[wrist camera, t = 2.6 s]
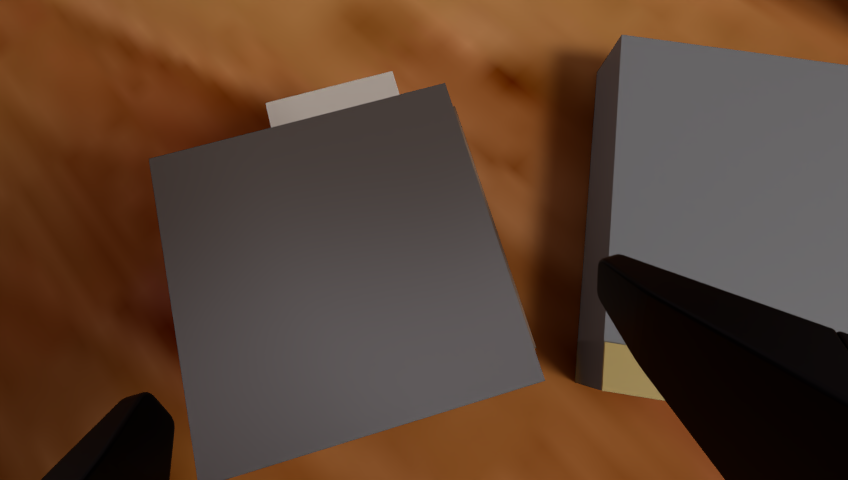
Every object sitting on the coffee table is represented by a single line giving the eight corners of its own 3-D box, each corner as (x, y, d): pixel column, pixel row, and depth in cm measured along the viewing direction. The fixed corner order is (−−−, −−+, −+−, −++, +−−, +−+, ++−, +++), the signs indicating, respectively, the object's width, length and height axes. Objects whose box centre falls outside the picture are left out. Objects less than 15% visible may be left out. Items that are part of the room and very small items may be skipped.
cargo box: (426, 224, 16) (428, 188, 12) (324, 252, 16) (293, 224, 12) (399, 132, 17) (392, 71, 13) (302, 157, 17) (265, 103, 13)
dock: (912, 437, 16) (1004, 456, 14) (574, 382, 17) (602, 390, 14) (880, 111, 19) (950, 77, 17) (596, 72, 20) (622, 33, 17)
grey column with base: (523, 346, 17) (826, 376, 4) (305, 412, 16) (-101, 675, 4) (451, 128, 19) (508, -284, 6) (256, 180, 18) (-107, -162, 6)
